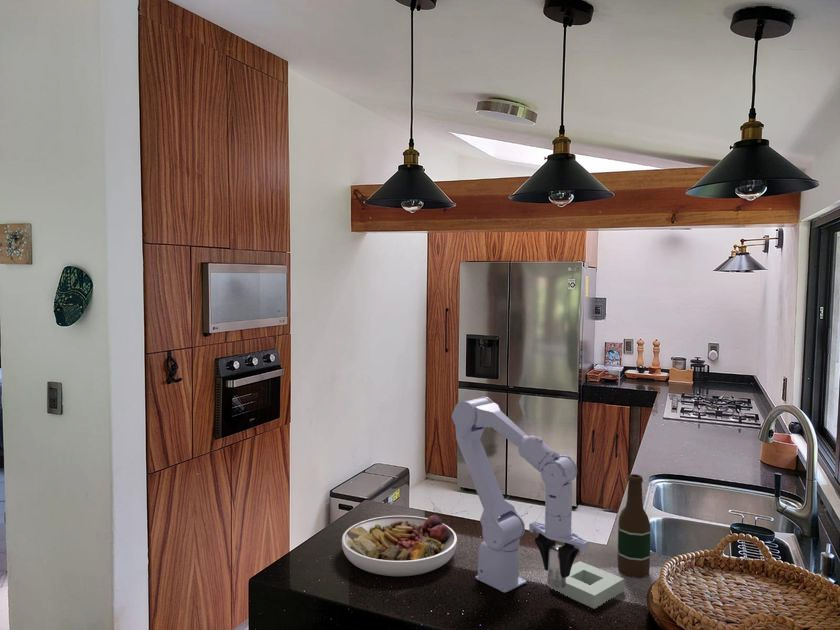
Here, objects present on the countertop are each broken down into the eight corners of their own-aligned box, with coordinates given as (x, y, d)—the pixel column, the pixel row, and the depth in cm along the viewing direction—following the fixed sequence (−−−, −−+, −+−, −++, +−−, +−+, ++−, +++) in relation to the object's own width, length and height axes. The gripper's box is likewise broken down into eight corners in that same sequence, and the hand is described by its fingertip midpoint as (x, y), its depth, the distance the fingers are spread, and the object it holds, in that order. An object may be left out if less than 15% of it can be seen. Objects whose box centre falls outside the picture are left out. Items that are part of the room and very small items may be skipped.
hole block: (549, 588, 143) (549, 575, 142) (579, 573, 150) (579, 561, 150) (594, 608, 134) (594, 595, 133) (623, 591, 141) (624, 578, 141)
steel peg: (543, 583, 136) (544, 547, 136) (554, 577, 139) (555, 543, 139) (558, 589, 133) (559, 553, 133) (569, 584, 136) (570, 548, 136)
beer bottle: (653, 569, 153) (655, 474, 152) (645, 581, 146) (647, 482, 145) (621, 561, 157) (623, 469, 156) (612, 573, 151) (614, 476, 150)
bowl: (389, 595, 140) (389, 561, 139) (319, 551, 162) (319, 522, 162) (480, 558, 159) (481, 528, 159) (407, 524, 182) (407, 498, 181)
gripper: (597, 517, 132) (595, 579, 133) (543, 499, 143) (541, 556, 144) (578, 525, 128) (576, 589, 128) (523, 506, 139) (522, 565, 139)
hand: (556, 572), depth 136 cm, fingers closed on steel peg, 4 cm apart
